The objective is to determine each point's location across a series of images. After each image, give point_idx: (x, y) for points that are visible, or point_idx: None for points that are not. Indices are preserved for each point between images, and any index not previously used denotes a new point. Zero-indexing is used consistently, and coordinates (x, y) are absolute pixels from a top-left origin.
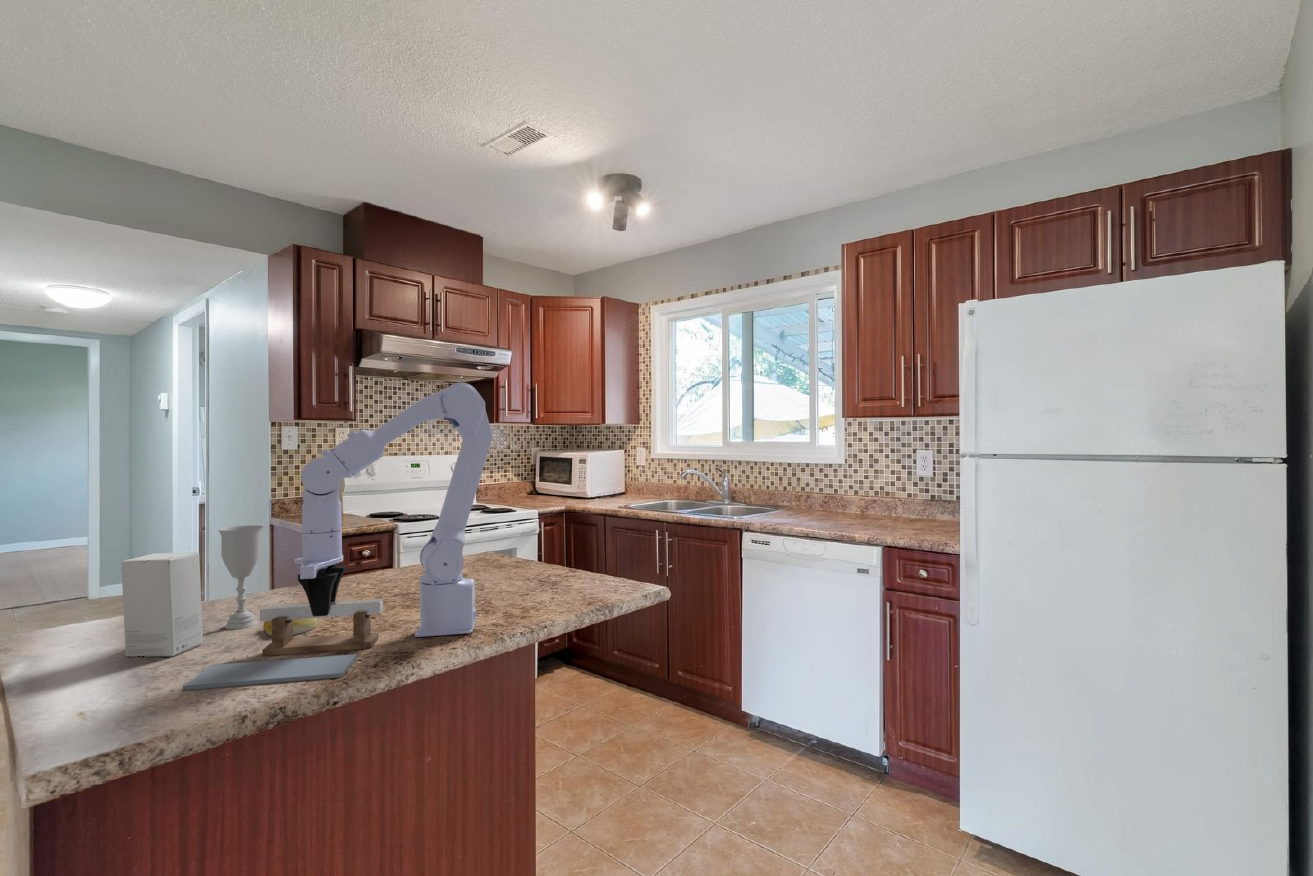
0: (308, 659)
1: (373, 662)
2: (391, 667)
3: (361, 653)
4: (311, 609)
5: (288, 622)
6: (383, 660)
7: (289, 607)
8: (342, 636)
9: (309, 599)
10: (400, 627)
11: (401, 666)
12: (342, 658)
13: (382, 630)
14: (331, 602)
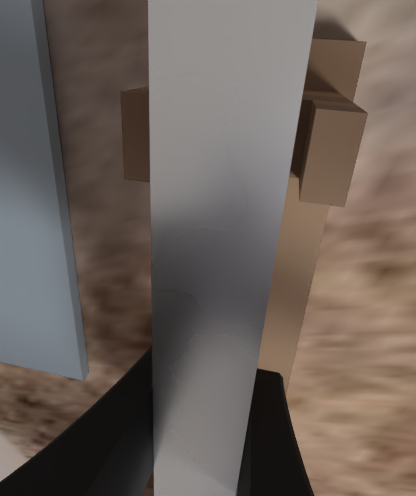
0: (48, 260)
1: (51, 400)
2: (15, 426)
3: None
4: (126, 375)
5: (300, 161)
6: (63, 418)
7: (151, 247)
8: (271, 352)
9: (67, 437)
10: (391, 487)
11: (20, 441)
12: (48, 348)
13: (383, 444)
14: (222, 481)
